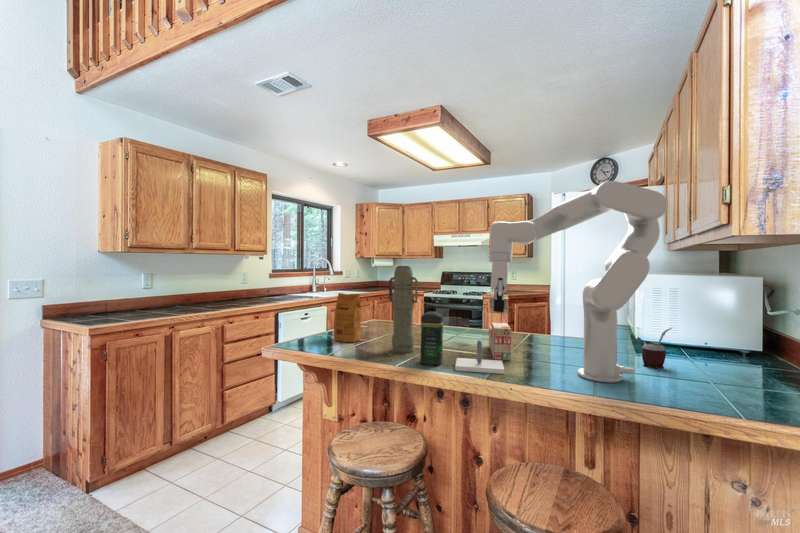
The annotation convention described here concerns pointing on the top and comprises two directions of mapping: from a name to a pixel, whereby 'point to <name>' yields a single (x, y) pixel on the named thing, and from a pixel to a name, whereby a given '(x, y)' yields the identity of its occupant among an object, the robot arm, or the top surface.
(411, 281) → the thermos
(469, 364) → the needle board
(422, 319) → the coffee jar
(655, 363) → the mate gourd
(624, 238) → the robot arm
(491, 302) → the bead
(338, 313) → the coffee package
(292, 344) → the top surface
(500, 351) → the food package box
